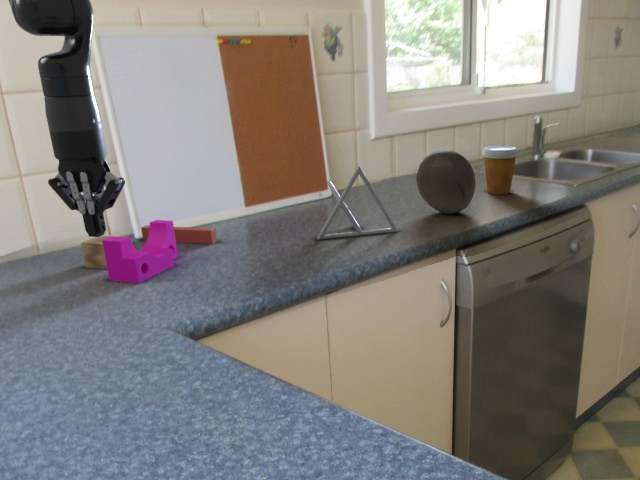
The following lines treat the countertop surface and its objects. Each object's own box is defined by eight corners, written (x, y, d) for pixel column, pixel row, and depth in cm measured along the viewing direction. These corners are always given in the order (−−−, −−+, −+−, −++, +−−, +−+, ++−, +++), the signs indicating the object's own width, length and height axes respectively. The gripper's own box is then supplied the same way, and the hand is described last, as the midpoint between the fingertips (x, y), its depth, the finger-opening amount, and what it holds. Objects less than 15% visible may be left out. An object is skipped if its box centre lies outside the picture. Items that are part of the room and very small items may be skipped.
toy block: (139, 284, 116) (132, 242, 113) (109, 281, 118) (102, 240, 115) (189, 259, 129) (184, 221, 126) (161, 257, 131) (156, 219, 128)
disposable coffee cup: (517, 189, 186) (519, 145, 182) (514, 196, 178) (516, 150, 173) (483, 188, 188) (484, 145, 184) (479, 195, 180) (480, 150, 175)
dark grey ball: (476, 207, 166) (477, 146, 161) (472, 221, 153) (473, 155, 148) (421, 206, 168) (420, 146, 163) (412, 219, 155) (411, 155, 150)
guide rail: (143, 241, 142) (140, 227, 141) (148, 238, 144) (146, 225, 143) (212, 244, 138) (210, 230, 137) (217, 242, 140) (215, 228, 139)
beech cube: (85, 268, 125) (80, 242, 123) (103, 260, 129) (98, 235, 128) (108, 269, 124) (104, 244, 122) (125, 261, 128) (121, 236, 127)
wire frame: (326, 243, 156) (382, 207, 156) (338, 269, 145) (399, 231, 145) (284, 183, 145) (345, 145, 145) (295, 207, 135) (360, 166, 134)
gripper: (128, 123, 104) (146, 231, 110) (56, 123, 107) (77, 228, 113) (97, 129, 97) (118, 243, 103) (21, 129, 100) (45, 240, 106)
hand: (96, 235), depth 108 cm, fingers closed
